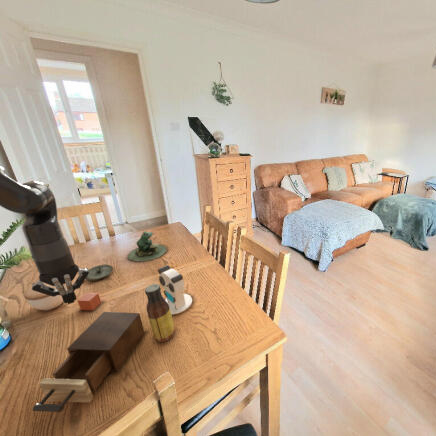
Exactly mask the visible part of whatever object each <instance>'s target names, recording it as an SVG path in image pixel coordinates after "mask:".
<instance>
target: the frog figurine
mask: <svg viewBox="0 0 436 436" xmlns="http://www.w3.org/2000/svg"><path fill="white" fill-rule="evenodd" d="M153 235H154V233H153V232H152V231H143V232H142V233H141V236H140V238H139V239H138V240H137V241H136V243H135V244H136V246H137V248H135V249H132V250H131V251H130V252H129V253H128V255H127V258H128V259H129V260H130V261H133V262H146V261H153V260H155V259H158V258H160V257H162V256H164V255H165V253H166V252H167V250H168V249H167V247H166V246H165V245H162V244H159V243H157V242H156V243H155V242H153V241H152V239H151V237H152V236H153Z"/></svg>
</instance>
